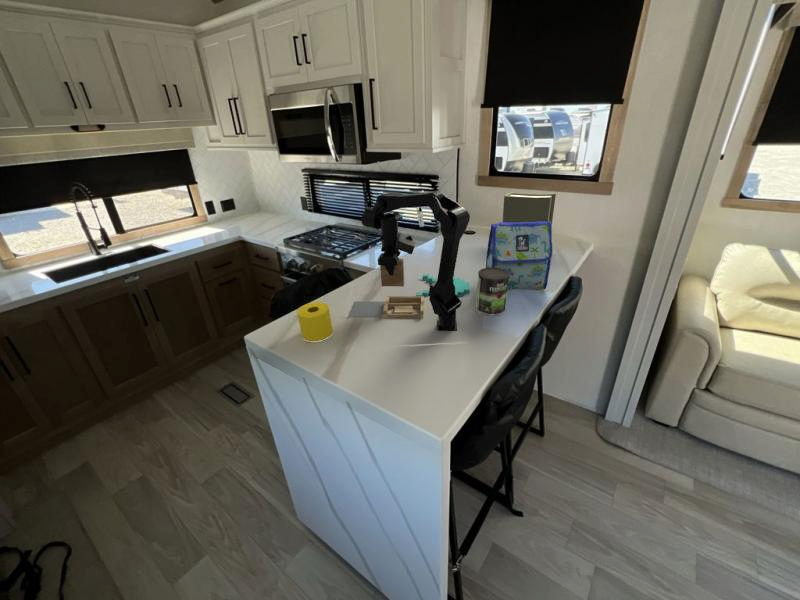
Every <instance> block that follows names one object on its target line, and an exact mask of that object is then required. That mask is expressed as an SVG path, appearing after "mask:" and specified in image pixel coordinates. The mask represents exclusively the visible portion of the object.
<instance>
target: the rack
mask: <svg viewBox="0 0 800 600" xmlns="http://www.w3.org/2000/svg"><path fill="white" fill-rule="evenodd" d="M395 306H413V309H419V310H420V311H419V312H420V313H414V314H394V313H389V309H395ZM424 310H425V296H416V295H415V296H410V295H409V296H407V295H406V296H405V295H404V296H402V295H401V296H400V295H399V296H397V295H393V296H391V295H390V296H386V299H385V303H384V307H383V311H382V316H383V318H385V319H386V318H387V319H388V318H391V319H392V318H401V319H402V318H405V319H407V318H409V319H410V318H415V319H417V318H418V319H419V318H421V319H422V318H424V314H425V311H424Z"/></svg>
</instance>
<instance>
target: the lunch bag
mask: <svg viewBox="0 0 800 600" xmlns="http://www.w3.org/2000/svg"><path fill="white" fill-rule="evenodd" d="M552 229H553V227H552V226H551V222H520V223H505V222H503V221H502V222H501V221H500V222H498V223H492V224H491V225H490V231H489V235H488V242H487V251H486V259H485V260H486V261H485V268H501V269H504V270H506V271H508V272H509V279H508V288H507V291H523V290H530V291H532V290H533V291H535V290H537V291H538V290H546V288H547V286H548V280H549V275H550V269H551V259H552V256H553V252H554V251H553V240H552V233H553V232H552Z"/></svg>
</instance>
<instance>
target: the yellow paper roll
mask: <svg viewBox="0 0 800 600" xmlns="http://www.w3.org/2000/svg"><path fill="white" fill-rule="evenodd" d="M330 312H331V311H330V306H329V305H328V304H327V303H324V302H320V301H313V302H308V303H306V304H304V305H301V306H300V307H299V308H298V309H297V311H296V313H297V317H298V324H299V327H300V332H301V337H303V338H304V339H305V340H308V341H319V340H323V339H325V338H327V337H329V336H330V335H331V334H332V332H333V333H334V331H333V326H332V324H333V323H332V319H331V313H330ZM332 335H333V334H332ZM303 338H302V339H303ZM304 339H303V340H304ZM305 340H304V341H305Z"/></svg>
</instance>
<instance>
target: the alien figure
mask: <svg viewBox="0 0 800 600" xmlns="http://www.w3.org/2000/svg"><path fill="white" fill-rule="evenodd" d="M429 274H430V273H423V275H422V280H423V281H426V282H427V283H431V284H432V283H434V282H436V281H437V279H438V278H434V276H433V275H431V276H430V275H429ZM453 283H454V286H455V294H456V295H457V297H464V295H465V294H467V295H469V294H470V290H471V289H470V287H471V282H466V279H460V277H457V276H455V274H454V276H453ZM428 294H429V289H427V290H426V289H423V291H422V292H416V294H415V296H424V297H429V296H428Z"/></svg>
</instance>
